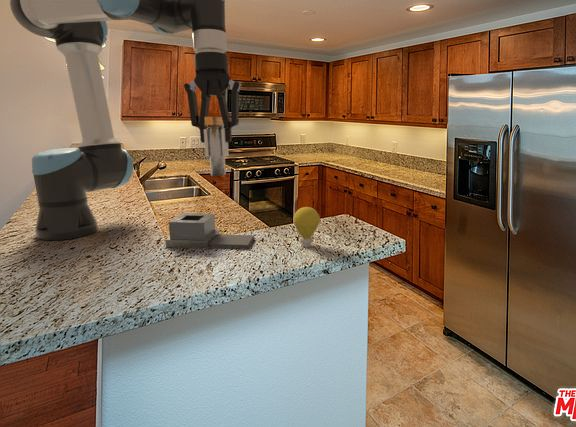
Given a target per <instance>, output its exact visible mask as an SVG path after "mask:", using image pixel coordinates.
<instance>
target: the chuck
mask: <svg viewBox="0 0 576 427" xmlns="http://www.w3.org/2000/svg"><path fill="white" fill-rule="evenodd" d="M215 215H216V214H215V213H196V212H195V213H188V212H187V213H186V212H185V213H184V212H183V213H181V214H179V215H177V216H176V217H174V218H173V219H171V220H169V221H168V230H169V237H167V238H166V239H165V240H164V242H165V248H178V249H181V248H182V249H203V248H205V249H208V250H209V249H210V245H209V244H210V243H211V242H212V241H213V240H214V239H215V237H216V236H217V235H218V234H221V232H220V231H221V230H220V229H216V216H215ZM179 247H181V248H179Z"/></svg>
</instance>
